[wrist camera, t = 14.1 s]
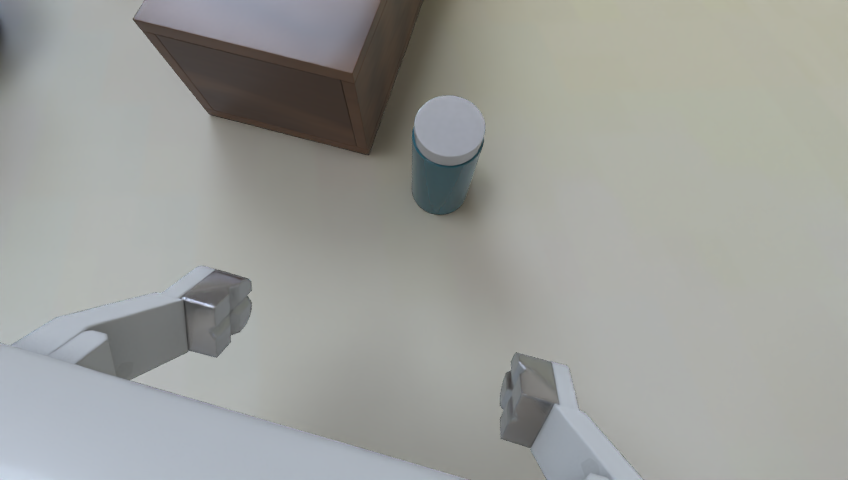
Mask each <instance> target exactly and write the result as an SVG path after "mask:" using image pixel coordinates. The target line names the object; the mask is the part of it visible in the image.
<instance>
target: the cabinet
mask: <svg viewBox="0 0 848 480" xmlns="http://www.w3.org/2000/svg"><path fill="white" fill-rule="evenodd" d="M422 2H423V0H145V1H144V2H143V4H142V5H141V7H140V8H139V10H138V12H137V13H136V15H135V16H134V18H133V20H134V22H135V23H136V24H137V25H138V27H139V28H140V29H141V30H142V31H143V33H144V34H145V35H146V36H147V38H148V39H149V40H150V41H151V43H152V44H153V45H154V46H155V48H156V49H157V50H158V51H159V53H160V54H161V55H162V56H163V58H164V59H165V60H166V61H167V62H168V64H169V65H170V66H171V67H172V69H173V70H174V71H175V72H176V74H177V75H178V76H179V77H180V79H181V80H182V81H183V82H184V84H185V85H186V86H187V87H188V89H189V90H190V91H191V92H192V94H193V95H194V96H195V97H196V99H197V100H198V101H199V102H200V104H201V105H202V106H203V107H204V109H205V110H206V111H207V112H208V114H211V115H215V116H218V117H222V118H226V119H230V120H234V121H238V122H242V123H246V124H250V125H254V126H257V127H261V128H265V129H269V130H273V131H277V132H281V133H285V134H289V135H292V136H296V137H300V138H304V139H308V140H312V141H316V142H320V143H324V144H327V145H331V146H335V147H339V148H343V149H347V150H351V151H355V152H359V153H363V154H366V155H369V153H370V150H371V147H372V144H373V141H374V139H375V136H376V133H377V130H378V127H379V124H380V122H381V119H382V116H383V113H384V110H385V107H386V105H387V102H388V99H389V96H390V93H391V90H392V88H393V85H394V82H395V79H396V76H397V73H398V70H399V68H400V65H401V62H402V59H403V56H404V53H405V51H406V48H407V45H408V42H409V39H410V36H411V34H412V31H413V28H414V25H415V22H416V19H417V17H418V14H419V11H420V8H421V5H422Z"/></svg>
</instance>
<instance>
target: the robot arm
mask: <svg viewBox="0 0 848 480" xmlns="http://www.w3.org/2000/svg"><path fill="white" fill-rule="evenodd" d="M251 291H252V283H251V281H250V280H249V279H248V278H245V277H241V276H238V275H235V274H231V273H228V272H225V271H221V270H217V269H214V268H210V267H207V266H198V267H196V268H195V269H193V270H192V271H191V272H189V273H188V274H187V275H185V276H184V277H183V278H181V279H180V280H178V281H177V282H176V283H174V284H173V285H172V286H170V287H169V288H168V289H166V290H165V291H164V292H162V293H157V292H155V293H151V294H147V295H143V296H139V297H135V298H131V299H127V300H123V301H119V302H115V303H111V304H107V305H103V306H99V307H95V308H91V309H88V310H84V311H80V312H76V313H72V314H68V315H64V316H60V317H56V318H54V319H52V320H51V321H49V322H47V323H46V324H44V325H43V326H41V327H39V328H38V329H36V330H34V331H33V332H31V333H30V334H28V335H26V336H25V337H23V338H21V339H20V340H18V341H17V342H15V343H13V344H12V345H7V344H4V343H0V480H469V479H466V478H463V477H459V476H456V475H452V474H449V473H445V472H442V471H439V470H435V469H432V468H428V467H425V466H422V465H418V464H415V463H411V462H408V461H405V460H401V459H398V458H394V457H391V456H387V455H384V454H381V453H377V452H374V451H370V450H367V449H364V448H360V447H357V446H353V445H350V444H346V443H343V442H340V441H336V440H333V439H329V438H326V437H322V436H319V435H316V434H312V433H309V432H305V431H302V430H298V429H295V428H292V427H288V426H285V425H281V424H278V423H274V422H271V421H268V420H264V419H261V418H257V417H254V416H250V415H247V414H243V413H240V412H237V411H233V410H230V409H226V408H223V407H220V406H216V405H213V404H209V403H206V402H202V401H199V400H196V399H192V398H189V397H185V396H182V395H178V394H175V393H172V392H168V391H165V390H161V389H158V388H154V387H151V386H148V385H144V384H141V383H137V382H134V381H130V380H131V379H133V378H135V377H137V376H139V375H142V374H144V373H146V372H148V371H150V370H152V369H154V368H156V367H158V366H160V365H162V364H164V363H166V362H168V361H171V360H173V359H175V358H177V357H179V356H181V355H183V354H185V353H187V352H188V350H189V351H193V352H196V353H200V354H204V355H208V356H212V357H216V358H217V357H218V356H219V355H220V354H221V353H222V351H223V350H224V349H225V348H226V347H227V346H228V345H229V344H230V343H231V335H233V334H236V333H239V332H240V331H241V330H242V329H243V328H244V327H245V325H246V323H247V321H248V319H249V317H250V314H251V310H252V302H251V300H250V299H249V297H248V296H247V295H248V294H249V293H250V292H251ZM500 406H501V408H502V409H503V410H504V411H503V413H502V415H501V417H500V434H501V439H503V440H506V441H509V442H512V443H515V444H519V445H522V446H525V447H528V448H531V449H530V450H531V452H532V454H533V456H534V458H535V460H536V461H537V463H538V465H539V467H540V469H541V470H542V472H543V474H544V476H545V478H546V480H644V479H643V478H642V477H641V476H640V475H639V474H638V473H637V471H636V470H635V469H634V468H633V467H632V466H631V465H630V463H629V462H628V461H627V460H626V459H625V458H624V456H623V455H622V454H621V453H620V452H619V451H618V450H617V448H616V447H615V446H614V445H613V444H612V443H611V442H610V440H609V439H608V438H607V437H606V436H605V435H604V434H603V432H602V431H601V430H600V429H599V428H598V427H597V426H596V424H595V423H594V422H593V421H592V420H591V419H590V418H589V416H588V415H587V414H586V413H585V412H583V411H580V410H579V406H578V402H577V397H576V393H575V389H574V385H573V381H572V377H571V373H570V369H569V367H568V366H567V365H564V364H560V363H556V362H552V361H547V360H543V359H539V358H536V357H532V356H528V355H524V354H521V353H517V352H516V353H515V354H514V356H513V358H512V360H511V371H509V372H507V373H506V374H505V377H504V380H503V383H502V387H501V392H500Z"/></svg>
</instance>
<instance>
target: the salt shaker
mask: <svg viewBox="0 0 848 480" xmlns="http://www.w3.org/2000/svg"><path fill="white" fill-rule="evenodd" d="M484 135H485V121H484V118H483V115H482V113H481V112H480V110H479V109H478V108H477V107H476V106H475V105H474V104H473V103H471V102H470V101H468V100H467V99H464V98H462V97H458V96H452V95H444V96H439V97H435V98H433V99H431V100H429V101H427V102H426V103H425V104H424V105H423V106H422V107H421V108H420V109H419V111H418V112H417V114H416V117H415V121H414V127H413V131H412V194H413V197H414V200H415V201H416V203H417V204H418V205H419V206H420V207H421V208H422V209H423V210H425V211H427V212H429V213H432V214H438V215H442V214H448V213H451V212H453V211H455V210H457V209H458V208H459V207H460V206H461V205H462V204H463V202H464V200H465V198H466V195H467V192H468V189H469V186H470V183H471V180H472V177H473V174H474V171H475V168H476V165H477V162H478V159H479V156H480V153H481V150H482V147H483V143H484Z"/></svg>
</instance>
